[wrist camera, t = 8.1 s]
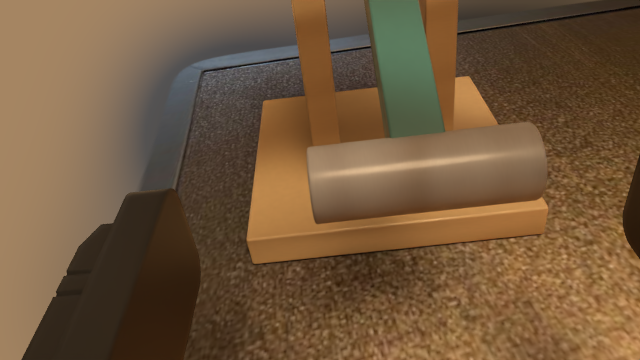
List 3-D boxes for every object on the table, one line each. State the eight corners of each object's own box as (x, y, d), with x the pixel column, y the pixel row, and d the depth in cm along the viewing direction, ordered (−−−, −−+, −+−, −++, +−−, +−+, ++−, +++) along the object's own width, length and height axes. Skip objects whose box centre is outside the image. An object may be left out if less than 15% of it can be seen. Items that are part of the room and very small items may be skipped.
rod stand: (545, 234, 18) (648, -324, 10) (252, 265, 18) (113, -244, 10) (468, 97, 26) (488, -269, 18) (267, 121, 26) (197, -225, 18)
